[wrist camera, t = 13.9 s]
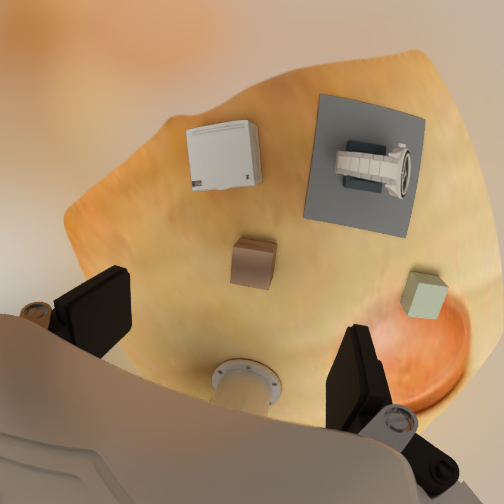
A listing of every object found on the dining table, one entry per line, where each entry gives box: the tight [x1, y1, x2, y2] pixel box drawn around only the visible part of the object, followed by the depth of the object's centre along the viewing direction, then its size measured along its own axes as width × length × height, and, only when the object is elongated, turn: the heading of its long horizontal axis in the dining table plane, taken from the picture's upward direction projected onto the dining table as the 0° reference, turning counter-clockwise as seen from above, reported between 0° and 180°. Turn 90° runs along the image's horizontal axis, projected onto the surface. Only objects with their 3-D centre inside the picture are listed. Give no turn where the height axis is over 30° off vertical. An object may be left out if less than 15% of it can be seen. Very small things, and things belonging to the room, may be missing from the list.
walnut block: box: [230, 238, 277, 290], centre depth 37 cm, size 5×5×4 cm
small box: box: [186, 120, 263, 191], centre depth 33 cm, size 8×8×5 cm
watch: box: [335, 140, 411, 199], centre depth 26 cm, size 6×8×11 cm
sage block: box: [400, 271, 449, 319], centre depth 33 cm, size 5×5×4 cm
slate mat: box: [303, 94, 425, 238], centre depth 31 cm, size 16×14×1 cm
